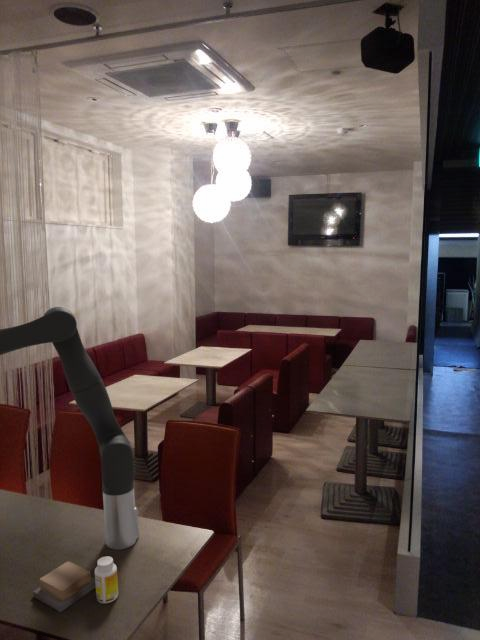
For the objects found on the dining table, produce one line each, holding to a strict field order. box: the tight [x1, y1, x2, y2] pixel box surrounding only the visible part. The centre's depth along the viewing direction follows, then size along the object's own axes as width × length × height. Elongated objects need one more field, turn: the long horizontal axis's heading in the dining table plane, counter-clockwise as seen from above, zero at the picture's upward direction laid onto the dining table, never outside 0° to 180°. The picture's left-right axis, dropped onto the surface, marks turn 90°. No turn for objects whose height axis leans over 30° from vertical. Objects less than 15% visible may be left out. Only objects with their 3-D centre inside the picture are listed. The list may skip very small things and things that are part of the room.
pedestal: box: [32, 560, 96, 613], centre depth 134 cm, size 12×11×4 cm
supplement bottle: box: [94, 555, 119, 604], centre depth 131 cm, size 6×6×10 cm
